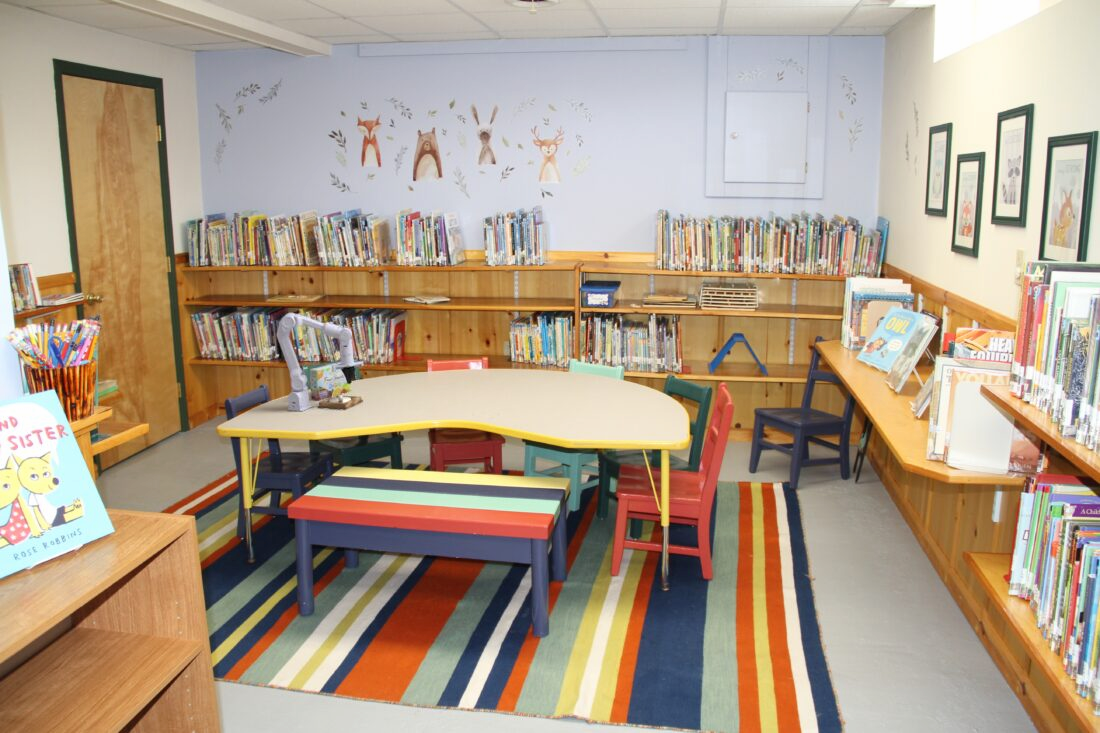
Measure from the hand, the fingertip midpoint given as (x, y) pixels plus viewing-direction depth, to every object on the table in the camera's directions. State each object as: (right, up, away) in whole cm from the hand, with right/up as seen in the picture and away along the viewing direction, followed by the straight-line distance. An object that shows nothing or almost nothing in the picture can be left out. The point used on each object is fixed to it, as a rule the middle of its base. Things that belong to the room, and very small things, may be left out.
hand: (349, 383), depth 404 cm
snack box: (-14, -7, +23) cm, 27 cm away
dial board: (-5, -10, +3) cm, 12 cm away
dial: (-5, -9, +2) cm, 10 cm away
